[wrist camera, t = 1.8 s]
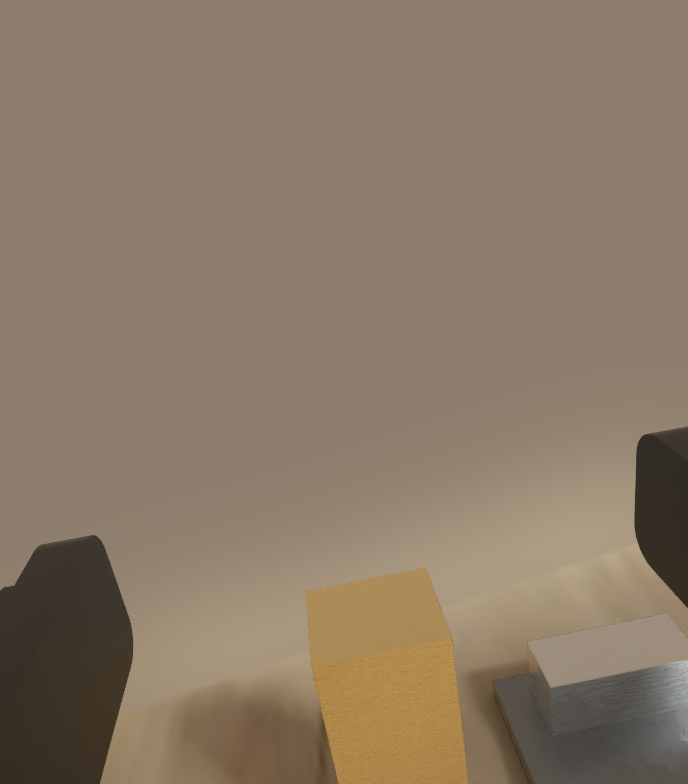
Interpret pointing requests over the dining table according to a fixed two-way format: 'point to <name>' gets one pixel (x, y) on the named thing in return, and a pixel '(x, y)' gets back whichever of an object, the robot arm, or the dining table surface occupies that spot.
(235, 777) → the dining table surface
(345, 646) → the brass block
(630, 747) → the base
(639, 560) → the dining table surface
